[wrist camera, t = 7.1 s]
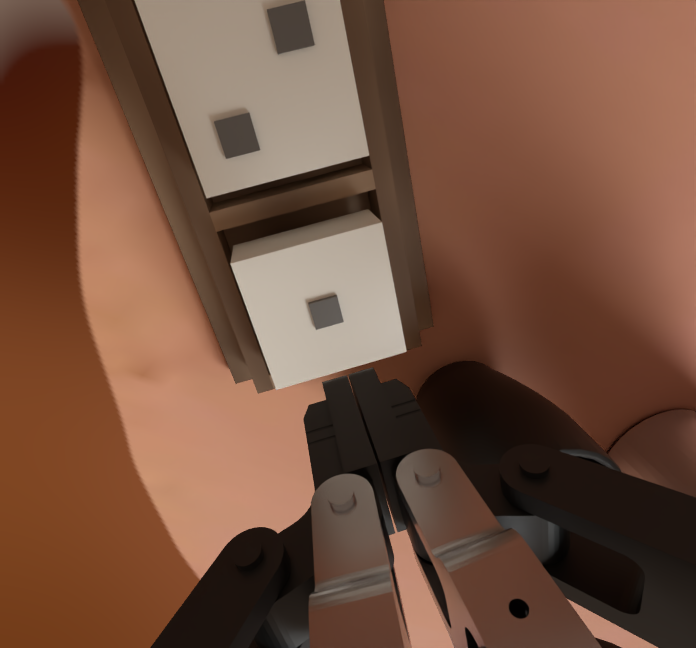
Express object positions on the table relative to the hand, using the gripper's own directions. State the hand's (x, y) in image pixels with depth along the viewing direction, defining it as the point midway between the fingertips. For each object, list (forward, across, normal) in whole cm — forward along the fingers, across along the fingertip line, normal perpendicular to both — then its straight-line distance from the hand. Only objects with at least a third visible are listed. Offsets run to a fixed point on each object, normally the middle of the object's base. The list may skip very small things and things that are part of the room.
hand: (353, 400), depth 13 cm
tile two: (+9, 0, -8) cm, 12 cm away
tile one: (+9, 0, 0) cm, 9 cm away
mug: (+12, -7, +13) cm, 19 cm away
